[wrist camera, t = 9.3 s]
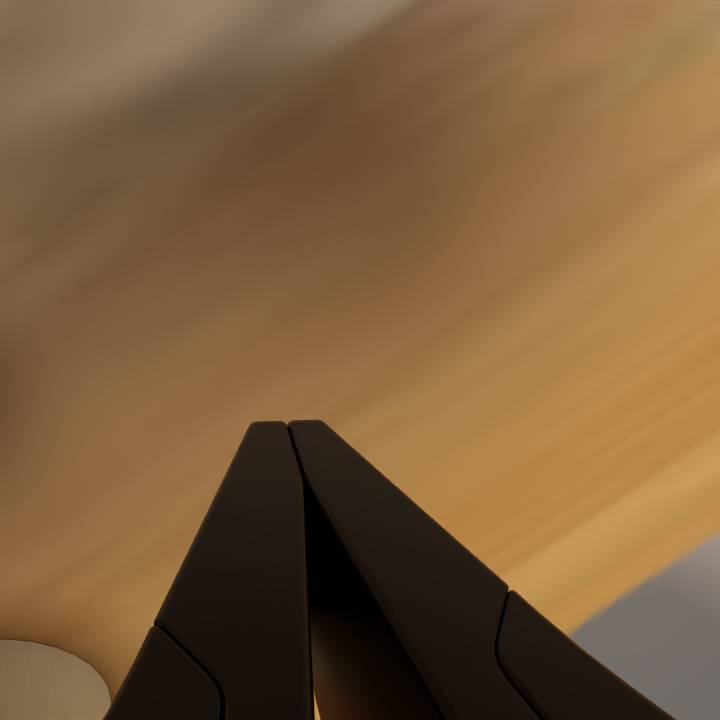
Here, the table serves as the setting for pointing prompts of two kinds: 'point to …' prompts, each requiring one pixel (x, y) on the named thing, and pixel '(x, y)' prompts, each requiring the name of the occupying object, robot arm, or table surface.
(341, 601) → the robot arm
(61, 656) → the reusable coffee cup
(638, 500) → the table surface
